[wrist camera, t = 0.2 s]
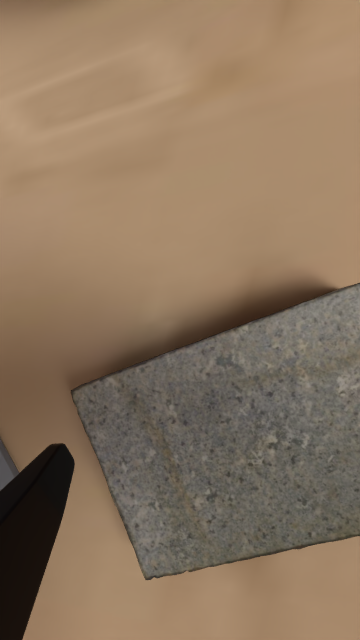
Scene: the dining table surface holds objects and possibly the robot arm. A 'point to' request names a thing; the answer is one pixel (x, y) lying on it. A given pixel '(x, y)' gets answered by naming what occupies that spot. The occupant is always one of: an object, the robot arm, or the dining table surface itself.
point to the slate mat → (6, 467)
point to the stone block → (236, 439)
